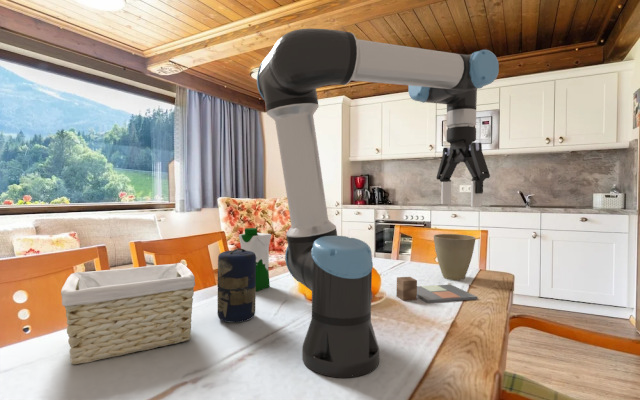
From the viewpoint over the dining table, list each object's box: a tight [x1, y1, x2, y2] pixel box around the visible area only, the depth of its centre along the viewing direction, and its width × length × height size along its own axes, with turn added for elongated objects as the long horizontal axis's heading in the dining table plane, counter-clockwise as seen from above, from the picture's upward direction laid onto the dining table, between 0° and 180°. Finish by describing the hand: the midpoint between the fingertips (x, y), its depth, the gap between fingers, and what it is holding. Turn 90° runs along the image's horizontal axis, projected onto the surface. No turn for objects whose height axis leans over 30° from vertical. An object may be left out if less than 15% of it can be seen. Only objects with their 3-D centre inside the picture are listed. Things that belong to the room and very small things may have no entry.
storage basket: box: [60, 262, 196, 365], centre depth 77 cm, size 24×16×15 cm
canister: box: [217, 247, 257, 323], centre depth 90 cm, size 10×10×18 cm
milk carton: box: [238, 227, 272, 292], centre depth 118 cm, size 9×9×20 cm
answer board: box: [417, 284, 478, 304], centre depth 113 cm, size 17×14×1 cm
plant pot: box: [433, 233, 476, 281], centre depth 134 cm, size 15×15×16 cm
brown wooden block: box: [395, 276, 418, 302], centre depth 109 cm, size 4×4×6 cm
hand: (460, 205), depth 97 cm, fingers open, 13 cm apart
